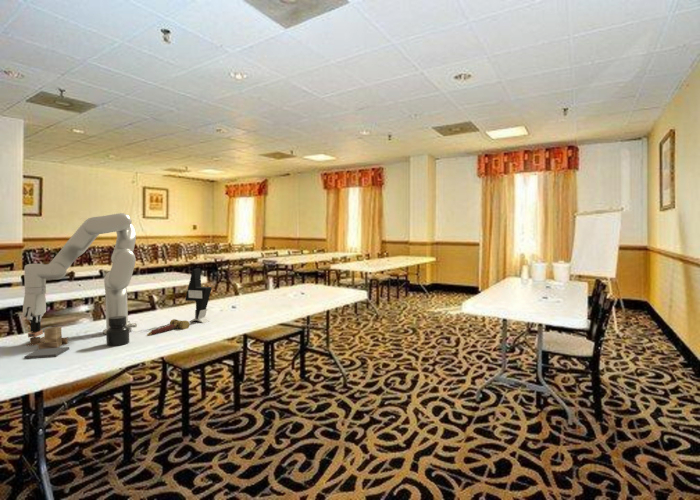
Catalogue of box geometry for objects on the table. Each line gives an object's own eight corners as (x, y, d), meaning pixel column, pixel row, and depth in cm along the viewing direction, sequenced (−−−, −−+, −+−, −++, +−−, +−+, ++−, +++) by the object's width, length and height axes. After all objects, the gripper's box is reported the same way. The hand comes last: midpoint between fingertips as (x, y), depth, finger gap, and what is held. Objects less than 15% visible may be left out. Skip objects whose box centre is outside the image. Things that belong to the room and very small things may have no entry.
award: (185, 321, 222) (184, 268, 221) (192, 319, 227) (191, 268, 226) (206, 323, 216) (205, 269, 216) (212, 321, 221) (211, 268, 220)
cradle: (67, 342, 178) (67, 337, 178) (56, 348, 169) (56, 342, 169) (50, 343, 177) (50, 338, 177) (38, 349, 168) (38, 343, 167)
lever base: (59, 335, 193) (59, 327, 193) (39, 344, 175) (38, 336, 175) (48, 335, 192) (48, 327, 192) (26, 345, 174) (26, 336, 174)
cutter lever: (53, 329, 189) (53, 325, 189) (35, 336, 174) (35, 332, 174) (46, 329, 188) (46, 326, 188) (28, 337, 174) (27, 333, 174)
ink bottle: (132, 340, 181) (131, 314, 181) (128, 345, 173) (127, 318, 173) (108, 342, 178) (107, 316, 178) (103, 347, 170) (102, 320, 170)
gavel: (153, 331, 187) (140, 329, 192) (154, 340, 188) (141, 338, 192) (189, 319, 206) (176, 318, 210) (190, 328, 206) (177, 326, 211)
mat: (69, 349, 168) (69, 346, 168) (55, 356, 157) (55, 354, 157) (40, 351, 165) (39, 348, 165) (24, 358, 155) (24, 356, 155)
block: (61, 344, 176) (61, 326, 175) (56, 347, 171) (56, 329, 171) (50, 345, 175) (49, 327, 174) (44, 347, 170) (44, 329, 170)
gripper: (35, 289, 185) (35, 327, 185) (15, 293, 170) (15, 335, 170) (53, 288, 186) (53, 327, 186) (35, 292, 172) (35, 334, 172)
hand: (35, 330), depth 178 cm, fingers closed
